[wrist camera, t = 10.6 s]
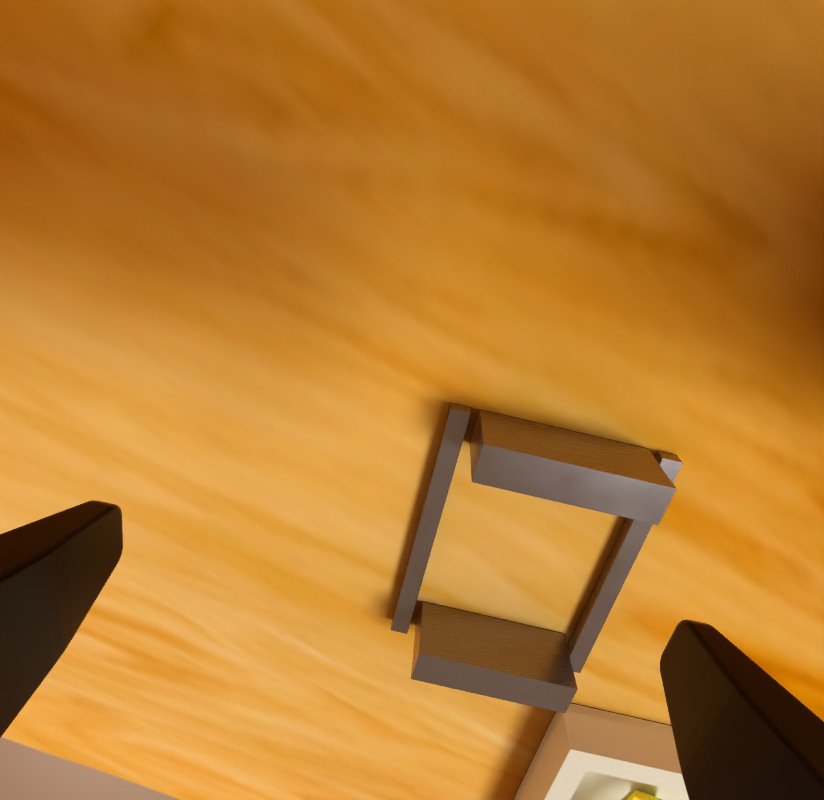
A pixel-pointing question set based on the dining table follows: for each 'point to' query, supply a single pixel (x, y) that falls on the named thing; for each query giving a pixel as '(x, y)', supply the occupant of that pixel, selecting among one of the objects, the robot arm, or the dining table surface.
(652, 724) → the parts tray
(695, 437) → the dining table surface
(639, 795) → the watch
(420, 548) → the grey rectangular open frame
